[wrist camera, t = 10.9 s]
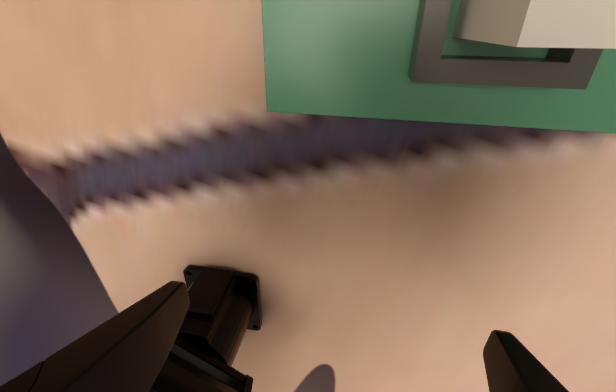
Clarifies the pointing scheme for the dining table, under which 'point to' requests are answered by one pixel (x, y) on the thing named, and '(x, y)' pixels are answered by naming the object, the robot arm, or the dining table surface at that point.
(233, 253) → the dining table surface
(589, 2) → the light grey upright block
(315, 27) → the circuit board
